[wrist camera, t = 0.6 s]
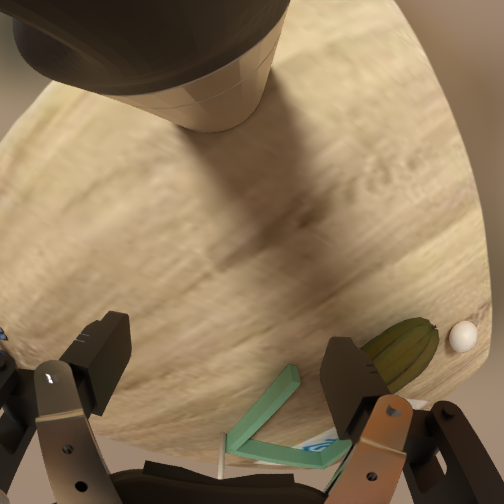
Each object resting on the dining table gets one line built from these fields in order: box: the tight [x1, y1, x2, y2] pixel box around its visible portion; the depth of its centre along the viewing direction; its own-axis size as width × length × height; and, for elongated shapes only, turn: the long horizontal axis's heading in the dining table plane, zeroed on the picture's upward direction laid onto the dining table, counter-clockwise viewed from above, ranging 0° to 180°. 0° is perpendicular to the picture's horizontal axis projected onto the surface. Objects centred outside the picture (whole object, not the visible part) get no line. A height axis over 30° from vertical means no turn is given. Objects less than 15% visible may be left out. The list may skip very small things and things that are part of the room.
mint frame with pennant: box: [218, 364, 352, 479], centre depth 27 cm, size 18×19×20 cm
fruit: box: [361, 317, 439, 394], centre depth 29 cm, size 11×12×7 cm
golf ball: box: [449, 321, 478, 353], centre depth 30 cm, size 4×4×4 cm
